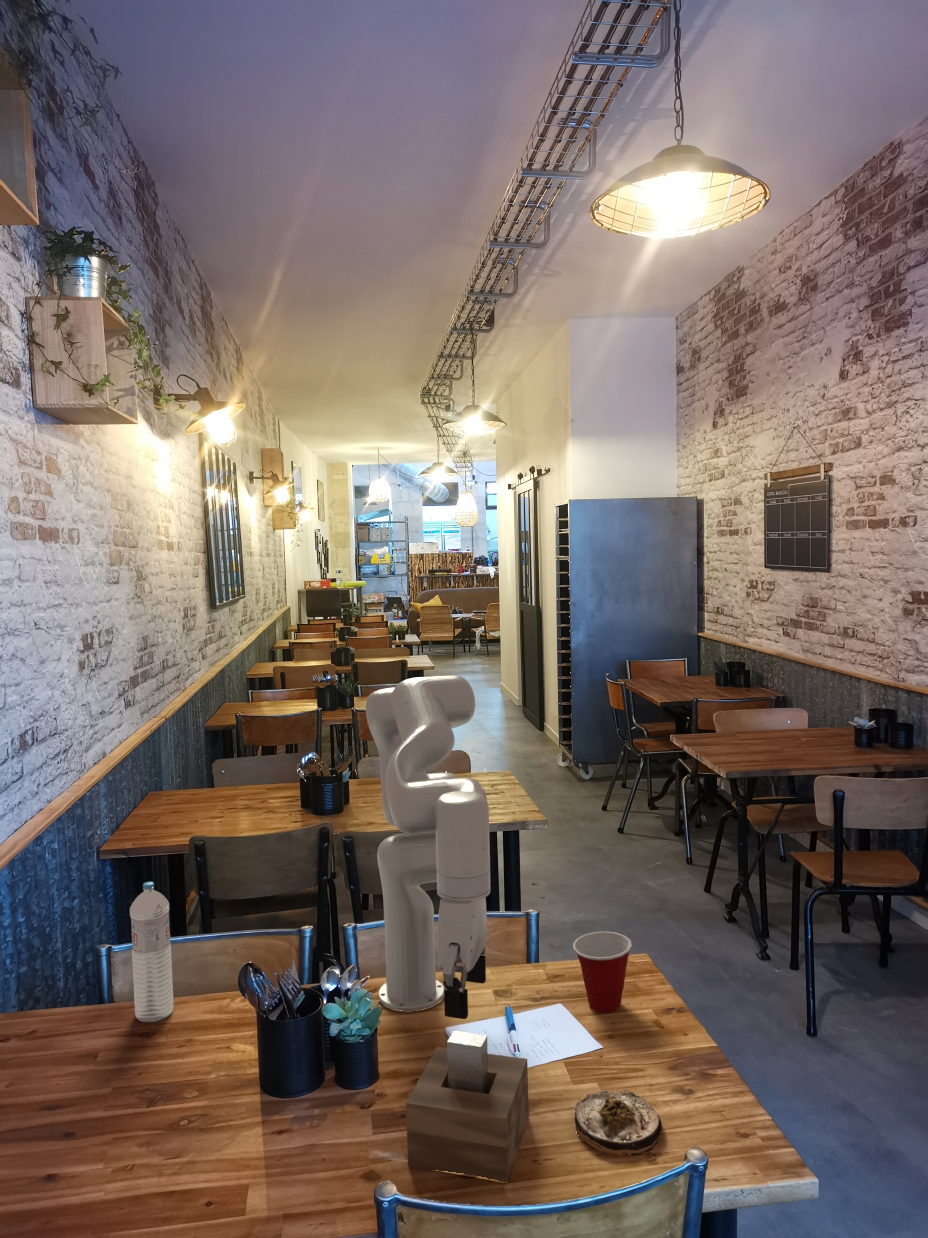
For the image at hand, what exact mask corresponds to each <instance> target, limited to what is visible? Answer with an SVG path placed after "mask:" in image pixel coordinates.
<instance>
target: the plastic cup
mask: <svg viewBox="0 0 928 1238" xmlns="http://www.w3.org/2000/svg"><path fill="white" fill-rule="evenodd" d="M572 945H573V946H572V947H573V951H574V952H575V953H576V955H577V959H578V961H579V964H580V968H581V972H582V978H583V979H582V980H583V984H584V988H585V990H586V997H587V1002H588V1005H589V1007H590V1008H591V1009H592V1010H593V1011H595V1012H599V1013H603V1014H604V1013H614V1012H616V1011H618V1010H619V1009H620V1007H621V1004H622V999H623V998H622V997H623V991H624V987H625V986H624V985H625V980H626V972H627V965H628V961H629V955H630V950H631V949H632V940H631V939H630V938H629V937H627V936H626V935H624V934H621V933H619V932H614V931H613V932H612V931H592V932H589V933H585V934H583V935H581V936H580V937H577V938H576V939H575V940H574V942H573V944H572Z"/></svg>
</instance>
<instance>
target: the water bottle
mask: <svg viewBox="0 0 928 1238" xmlns="http://www.w3.org/2000/svg"><path fill="white" fill-rule="evenodd" d="M154 886H155V883H154V882H153V881H147V882H144V883H143V884H142V890H143V892H141V893H140V894H139V895H137V897H136V898H135V899H134V901H132V903H131V906H130V907H129V917H130V921H131V923H130V924H131V943H132V944H131V958H132V973H133V974H132V979H133V981H132V982H133V998H134V1001H133V1002H134V1013H135V1017H136V1019H137V1020H138V1021H140V1022H141V1023H155V1022H159V1021H162V1020H164V1019H166V1018H167V1017H169V1016H170V1015H171V1014H172V1013H173V1011H174V990H173V989H174V986H173V984H174V982H173V968H172V965H173V963H172V960H173V959H172V943H171V935H170V933H171V932H170V931H171V930H170V913H169V911H170V903H169V901H168V899H167V898H166V897H165V895H164V894H162V893H161V892H159V891H157V890H154V888H155V887H154Z"/></svg>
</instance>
